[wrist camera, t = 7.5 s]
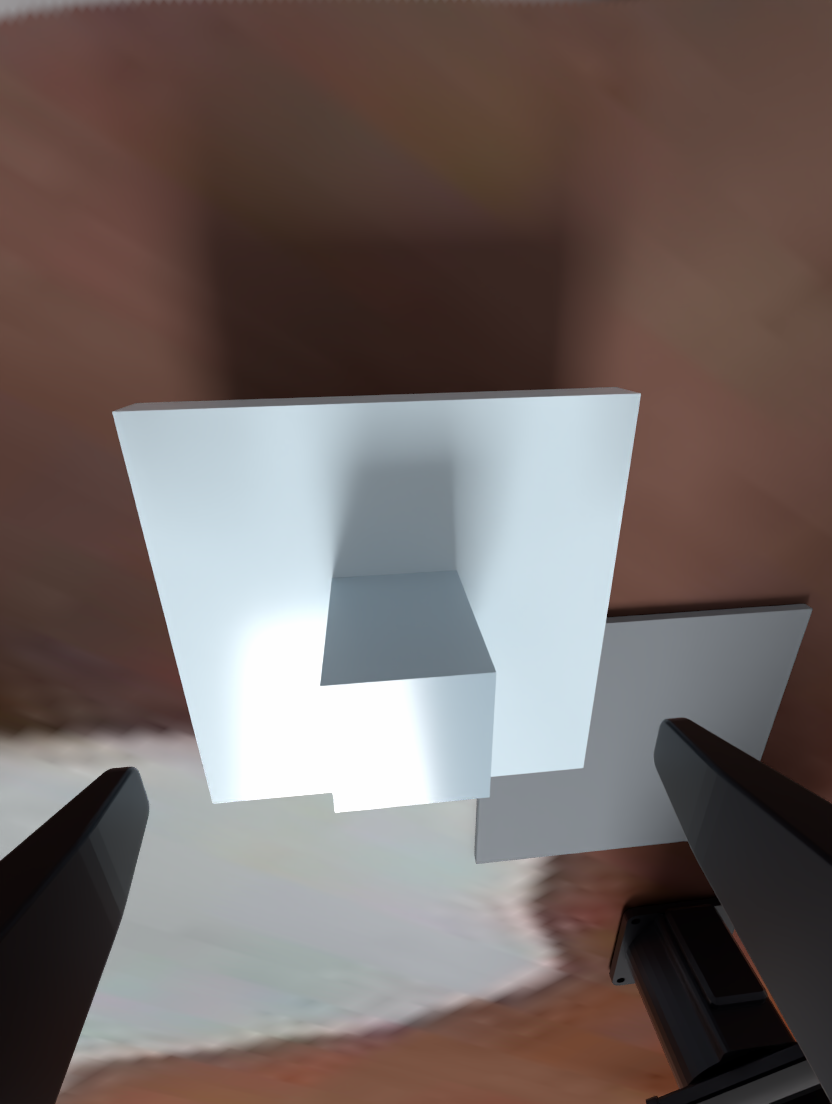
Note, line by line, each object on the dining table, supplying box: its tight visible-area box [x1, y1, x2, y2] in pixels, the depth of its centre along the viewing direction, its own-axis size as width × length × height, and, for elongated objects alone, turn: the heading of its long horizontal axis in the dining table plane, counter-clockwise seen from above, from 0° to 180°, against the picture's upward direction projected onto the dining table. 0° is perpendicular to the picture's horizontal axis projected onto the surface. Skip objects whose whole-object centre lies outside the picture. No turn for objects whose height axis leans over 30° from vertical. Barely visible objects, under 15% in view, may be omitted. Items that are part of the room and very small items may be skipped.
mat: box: [475, 604, 812, 864], centre depth 22 cm, size 13×13×1 cm
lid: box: [112, 387, 641, 813], centre depth 12 cm, size 11×11×5 cm
